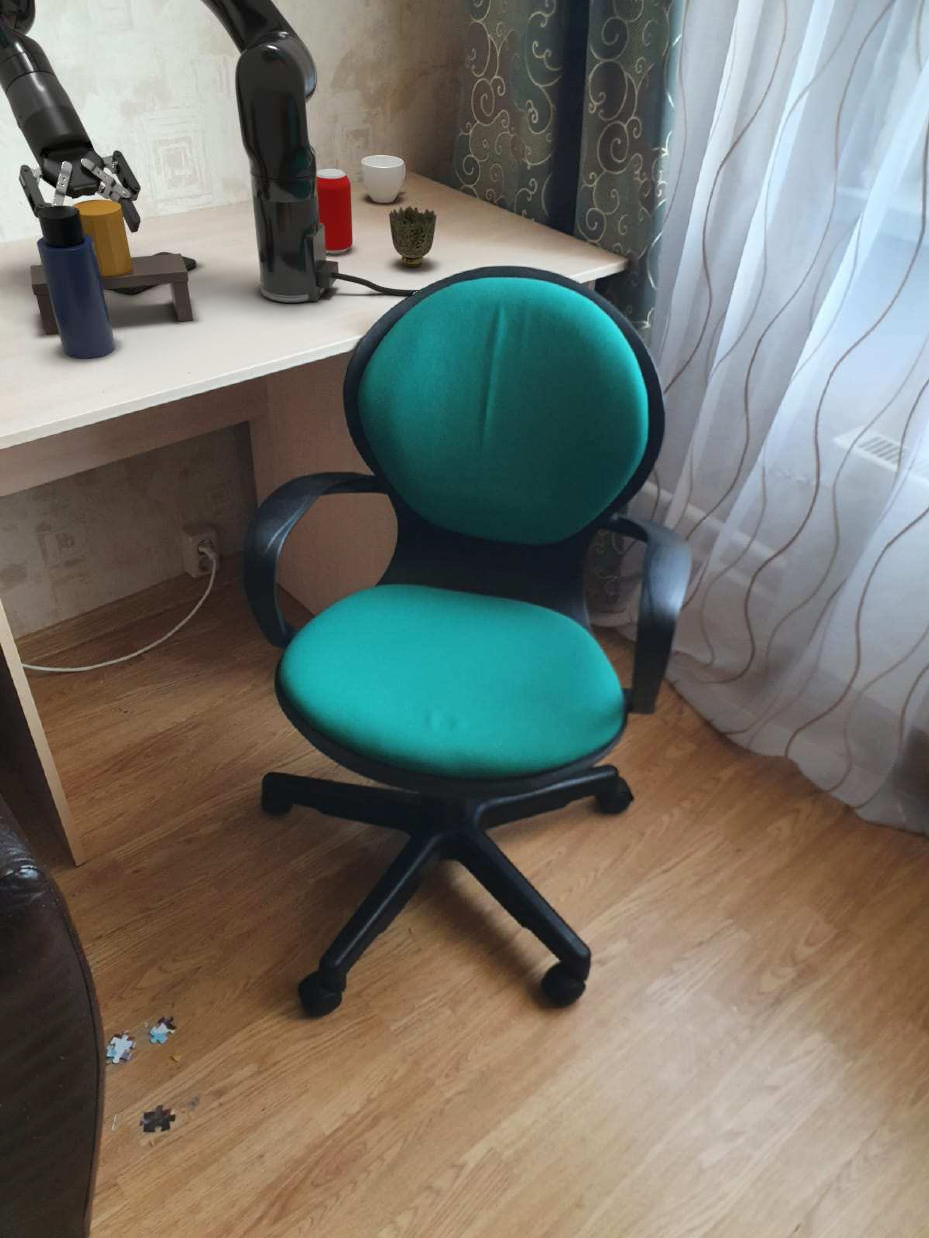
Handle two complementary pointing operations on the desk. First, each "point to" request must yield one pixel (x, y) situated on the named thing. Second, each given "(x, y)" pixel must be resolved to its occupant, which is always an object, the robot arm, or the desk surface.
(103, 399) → the desk surface
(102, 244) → the cap
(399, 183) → the cup
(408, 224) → the cup
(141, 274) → the small brown bench
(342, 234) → the beverage can
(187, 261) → the phone
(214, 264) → the desk surface
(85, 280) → the flask
